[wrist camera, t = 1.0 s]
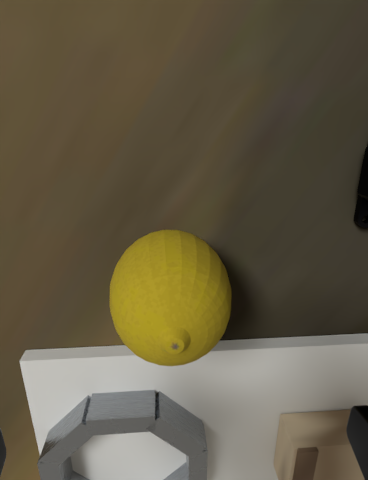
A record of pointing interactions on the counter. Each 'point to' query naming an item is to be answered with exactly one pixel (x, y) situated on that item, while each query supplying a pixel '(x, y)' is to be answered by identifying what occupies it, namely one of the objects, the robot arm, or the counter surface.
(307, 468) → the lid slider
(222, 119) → the counter surface
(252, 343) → the board
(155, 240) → the lemon
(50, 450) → the ring
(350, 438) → the robot arm
